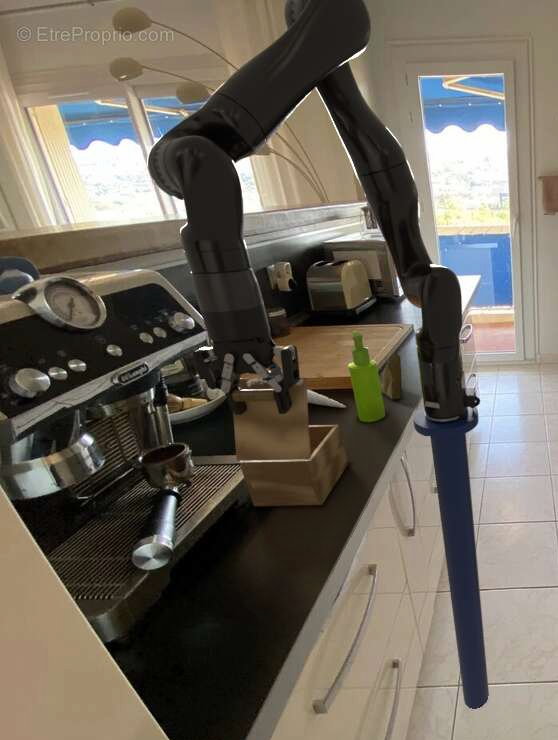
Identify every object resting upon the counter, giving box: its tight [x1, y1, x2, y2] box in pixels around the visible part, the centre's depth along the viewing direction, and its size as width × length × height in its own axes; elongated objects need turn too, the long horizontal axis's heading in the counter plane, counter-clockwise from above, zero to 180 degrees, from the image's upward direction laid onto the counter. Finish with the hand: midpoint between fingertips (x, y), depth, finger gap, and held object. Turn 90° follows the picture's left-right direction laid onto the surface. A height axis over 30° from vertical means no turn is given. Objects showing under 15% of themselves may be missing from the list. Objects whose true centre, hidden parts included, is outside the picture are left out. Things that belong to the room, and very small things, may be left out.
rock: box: [380, 352, 402, 400], centre depth 115 cm, size 11×9×10 cm
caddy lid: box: [232, 376, 311, 462], centre depth 69 cm, size 13×11×5 cm
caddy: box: [238, 424, 349, 507], centre depth 79 cm, size 12×11×9 cm
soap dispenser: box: [348, 330, 386, 423], centre depth 101 cm, size 6×7×20 cm
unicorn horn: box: [307, 389, 347, 408], centre depth 111 cm, size 5×24×5 cm, turn 64°
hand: (263, 412), depth 69 cm, fingers closed on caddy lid, 6 cm apart
